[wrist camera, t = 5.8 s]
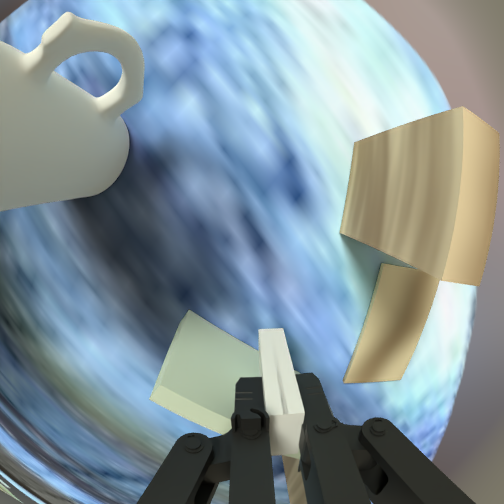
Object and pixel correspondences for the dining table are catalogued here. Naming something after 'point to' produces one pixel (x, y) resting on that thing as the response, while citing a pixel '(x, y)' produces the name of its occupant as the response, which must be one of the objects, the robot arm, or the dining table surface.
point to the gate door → (205, 374)
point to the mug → (63, 116)
